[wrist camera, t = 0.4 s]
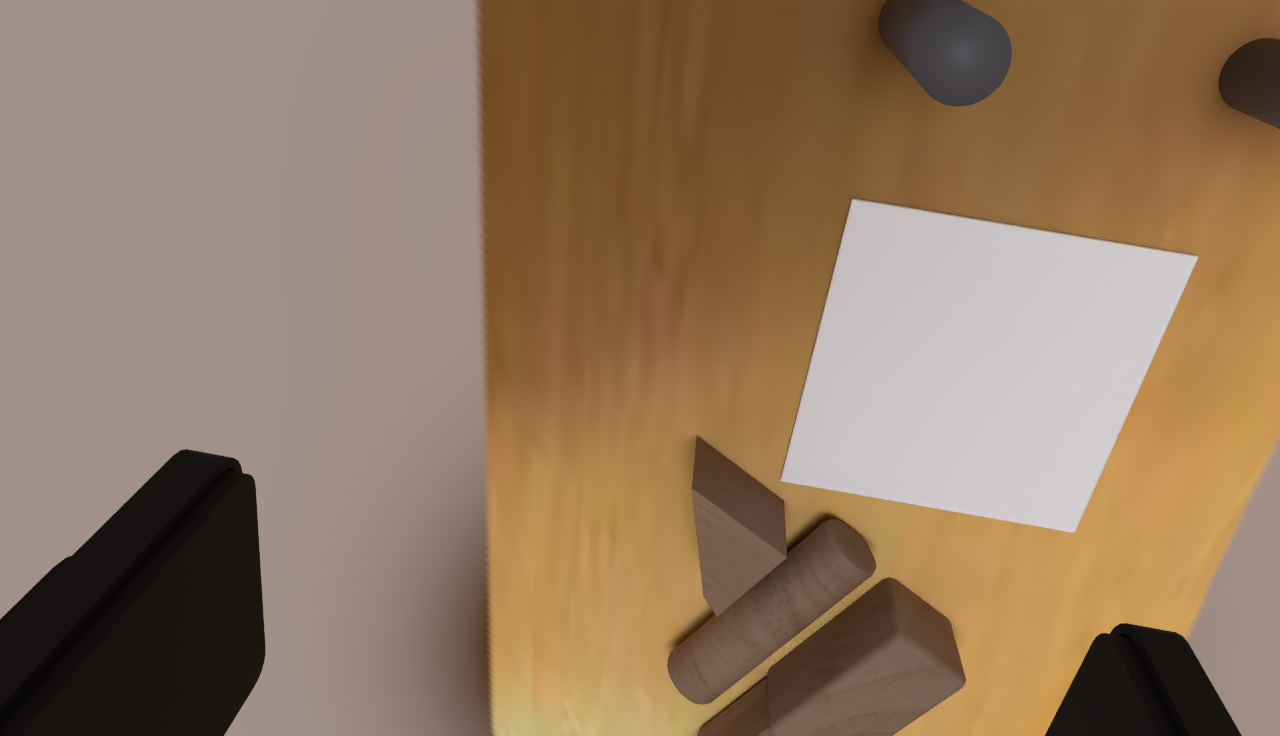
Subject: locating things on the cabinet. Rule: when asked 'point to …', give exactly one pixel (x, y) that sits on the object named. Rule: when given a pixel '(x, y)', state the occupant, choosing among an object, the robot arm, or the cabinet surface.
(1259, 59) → the post
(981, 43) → the post
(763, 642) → the wooden block set
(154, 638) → the robot arm
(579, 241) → the cabinet surface
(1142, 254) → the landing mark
